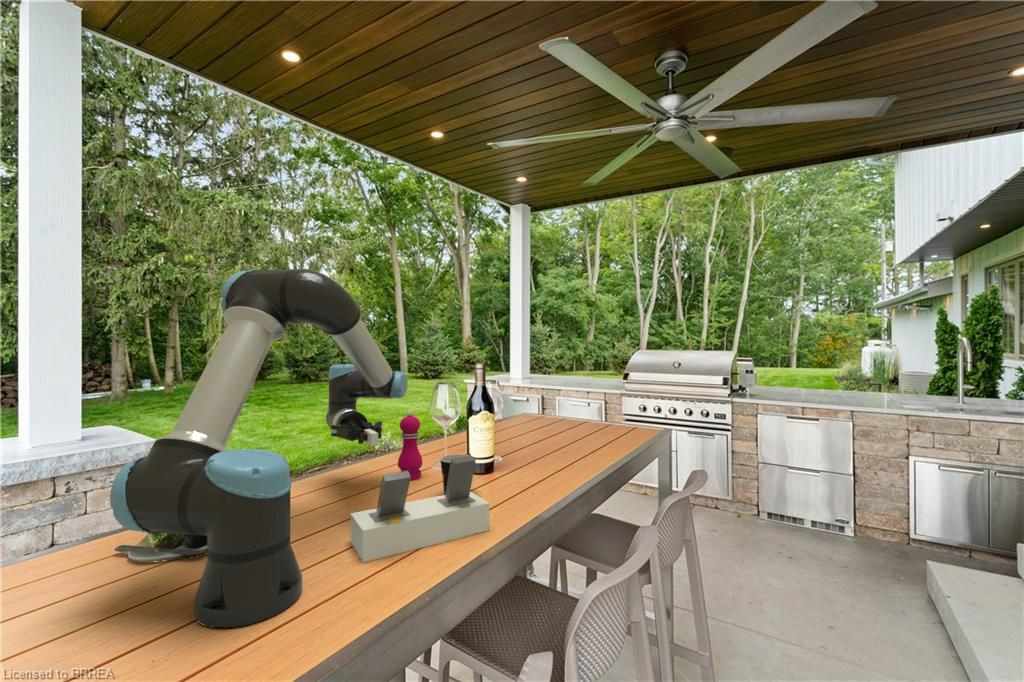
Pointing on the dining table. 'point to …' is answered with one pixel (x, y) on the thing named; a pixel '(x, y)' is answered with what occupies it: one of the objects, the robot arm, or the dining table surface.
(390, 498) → the near switch
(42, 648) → the dining table surface
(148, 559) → the salad plate
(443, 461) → the coffee mug
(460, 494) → the far switch
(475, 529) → the switch box
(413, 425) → the pepper mill
